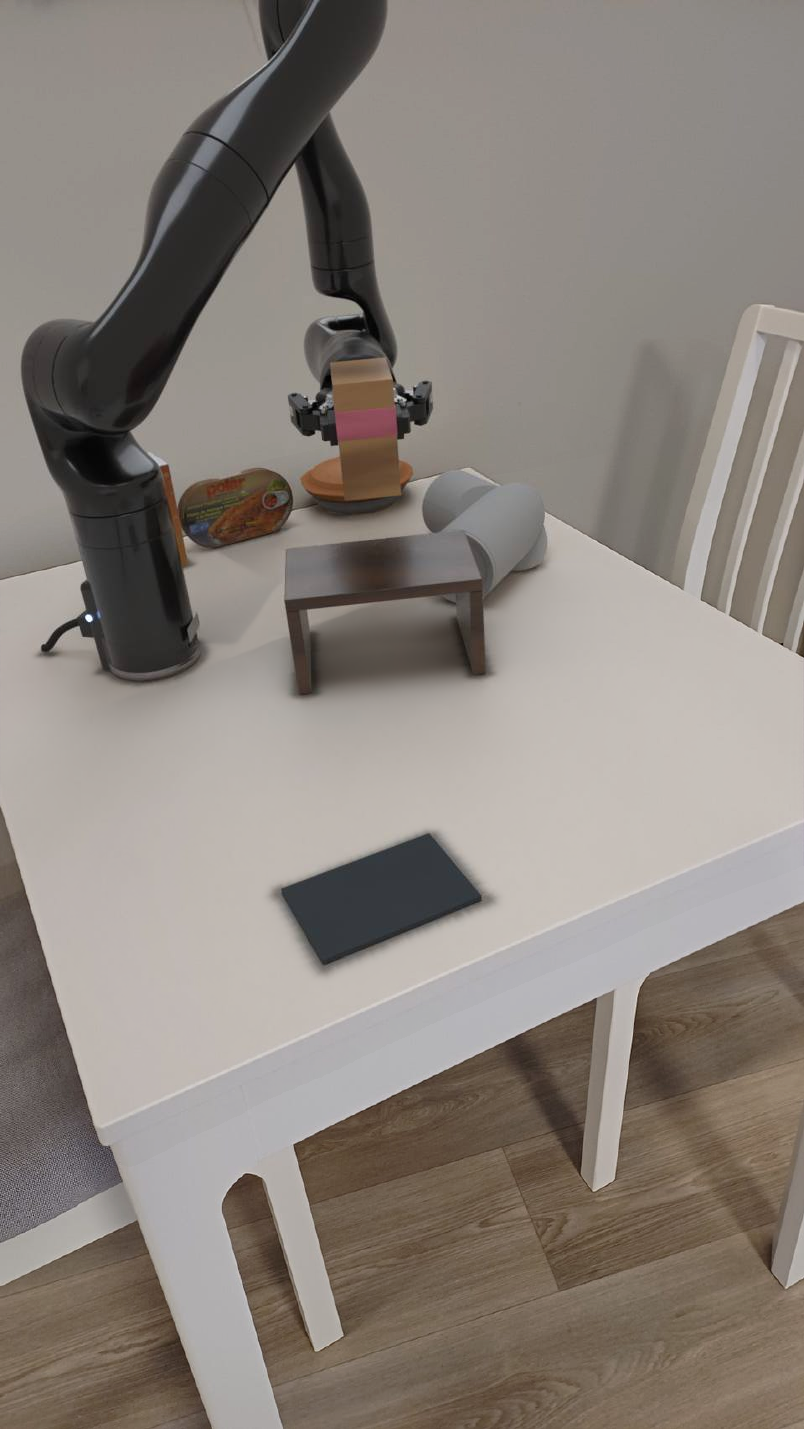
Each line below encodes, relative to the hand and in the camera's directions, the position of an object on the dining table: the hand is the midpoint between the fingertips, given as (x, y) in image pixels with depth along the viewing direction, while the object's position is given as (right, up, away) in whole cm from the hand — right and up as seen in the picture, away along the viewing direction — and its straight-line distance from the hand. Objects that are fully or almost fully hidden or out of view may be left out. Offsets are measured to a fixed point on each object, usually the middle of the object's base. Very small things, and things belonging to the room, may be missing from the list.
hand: (366, 431), depth 85 cm
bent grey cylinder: (+12, -8, +31) cm, 34 cm away
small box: (-28, -6, +39) cm, 48 cm away
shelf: (+2, -18, +15) cm, 24 cm away
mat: (+1, -37, -15) cm, 40 cm away
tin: (-18, -1, +45) cm, 48 cm away
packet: (0, -3, +5) cm, 6 cm away
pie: (-3, +5, +53) cm, 53 cm away
